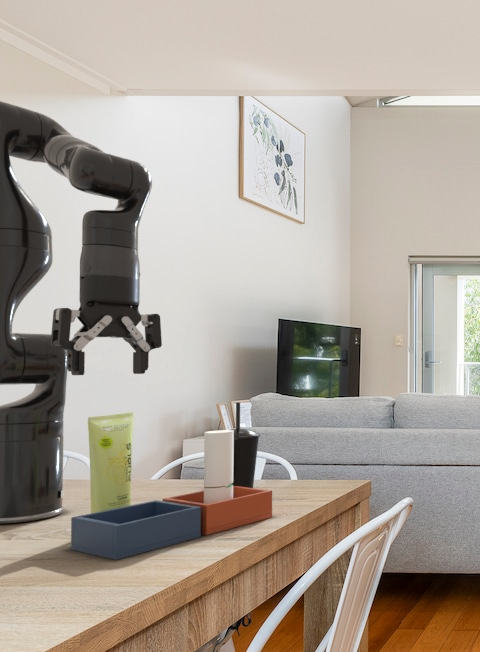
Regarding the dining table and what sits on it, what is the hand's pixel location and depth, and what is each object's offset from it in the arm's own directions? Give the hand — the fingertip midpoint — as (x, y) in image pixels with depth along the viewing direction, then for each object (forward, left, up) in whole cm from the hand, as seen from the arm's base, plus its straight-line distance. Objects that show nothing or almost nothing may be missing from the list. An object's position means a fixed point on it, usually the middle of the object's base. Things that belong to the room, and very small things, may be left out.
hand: (109, 374), depth 94 cm
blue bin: (+10, -1, -26) cm, 28 cm away
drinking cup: (+1, +21, -26) cm, 34 cm away
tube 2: (+10, +12, -25) cm, 30 cm away
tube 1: (0, 0, -26) cm, 26 cm away
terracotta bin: (+10, +12, -26) cm, 30 cm away
